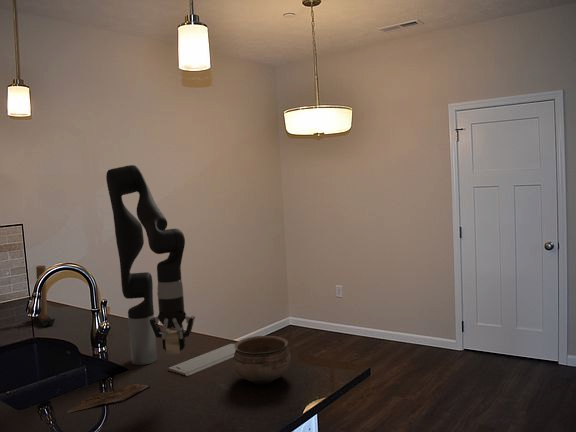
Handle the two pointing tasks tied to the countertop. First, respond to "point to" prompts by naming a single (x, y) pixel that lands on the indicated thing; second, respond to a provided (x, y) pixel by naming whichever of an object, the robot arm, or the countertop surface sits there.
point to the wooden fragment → (109, 397)
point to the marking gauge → (172, 342)
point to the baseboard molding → (204, 361)
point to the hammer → (43, 304)
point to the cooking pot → (261, 358)
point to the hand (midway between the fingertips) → (174, 349)
